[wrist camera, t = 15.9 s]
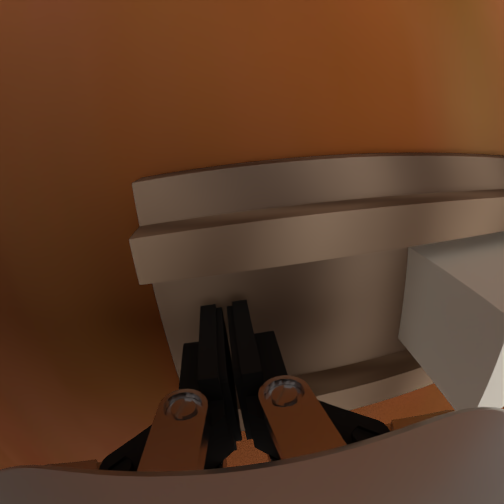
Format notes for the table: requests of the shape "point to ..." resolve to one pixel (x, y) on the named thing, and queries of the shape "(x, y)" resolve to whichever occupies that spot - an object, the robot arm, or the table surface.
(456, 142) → the table surface
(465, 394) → the cream block
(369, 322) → the channel board
